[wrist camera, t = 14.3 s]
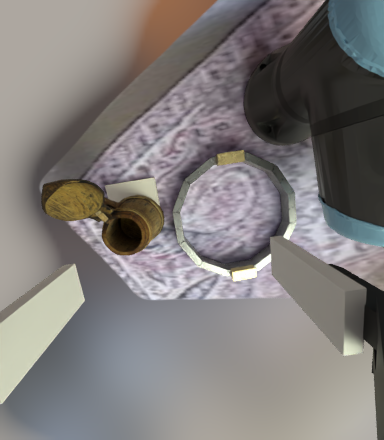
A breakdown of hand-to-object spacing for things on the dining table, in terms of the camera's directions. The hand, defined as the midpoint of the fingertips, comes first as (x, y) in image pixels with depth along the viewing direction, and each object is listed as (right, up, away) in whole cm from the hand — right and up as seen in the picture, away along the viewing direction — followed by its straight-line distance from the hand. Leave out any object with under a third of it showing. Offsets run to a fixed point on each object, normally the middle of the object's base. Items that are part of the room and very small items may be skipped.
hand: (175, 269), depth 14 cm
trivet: (-10, +6, +25) cm, 28 cm away
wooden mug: (-10, +5, +25) cm, 27 cm away
